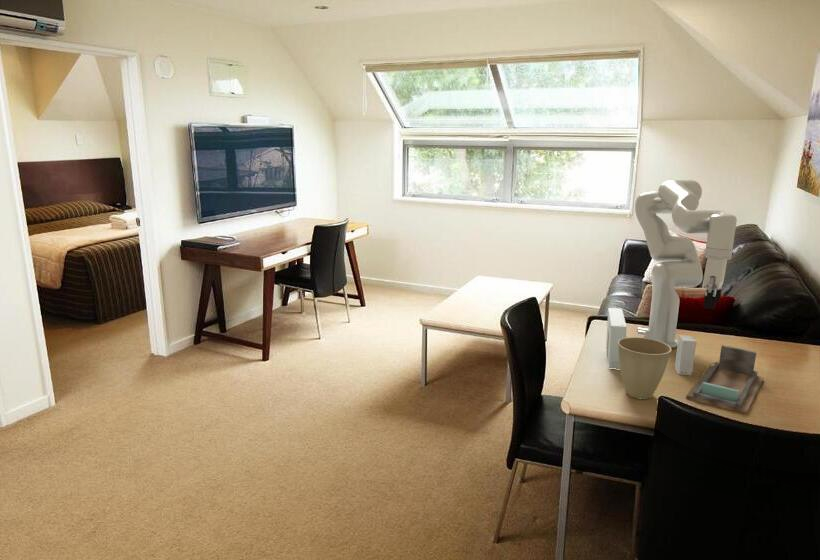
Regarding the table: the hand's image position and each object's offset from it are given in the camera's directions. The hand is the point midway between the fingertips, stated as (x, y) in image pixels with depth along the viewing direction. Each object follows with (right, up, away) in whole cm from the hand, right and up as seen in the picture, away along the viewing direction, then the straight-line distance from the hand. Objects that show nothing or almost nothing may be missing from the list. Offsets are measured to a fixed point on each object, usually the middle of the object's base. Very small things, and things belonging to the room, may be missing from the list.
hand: (711, 304), depth 186 cm
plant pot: (-28, -27, -11) cm, 40 cm away
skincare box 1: (-26, -20, +17) cm, 37 cm away
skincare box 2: (-6, -23, +6) cm, 25 cm away
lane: (+1, -26, -7) cm, 27 cm away
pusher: (-6, -27, -16) cm, 32 cm away
